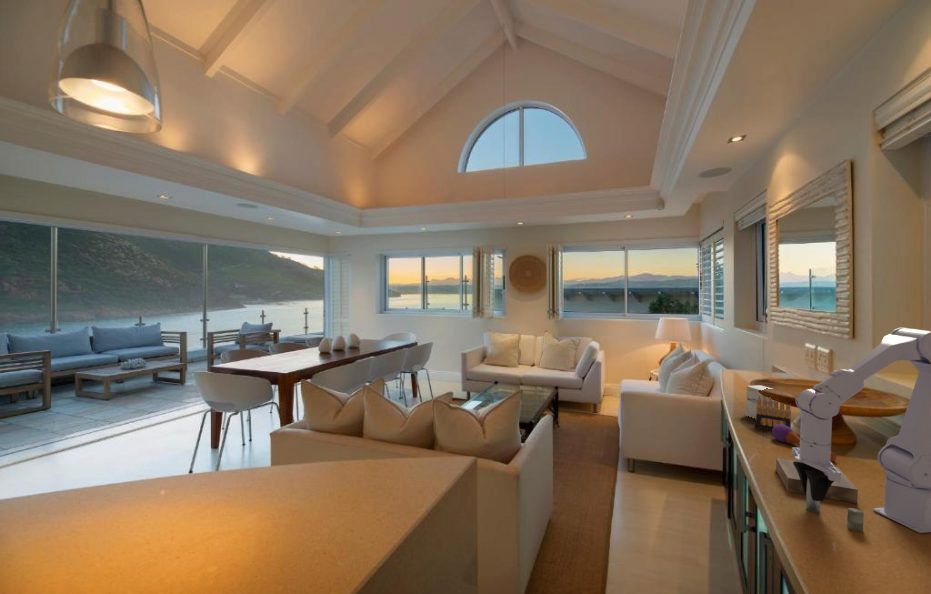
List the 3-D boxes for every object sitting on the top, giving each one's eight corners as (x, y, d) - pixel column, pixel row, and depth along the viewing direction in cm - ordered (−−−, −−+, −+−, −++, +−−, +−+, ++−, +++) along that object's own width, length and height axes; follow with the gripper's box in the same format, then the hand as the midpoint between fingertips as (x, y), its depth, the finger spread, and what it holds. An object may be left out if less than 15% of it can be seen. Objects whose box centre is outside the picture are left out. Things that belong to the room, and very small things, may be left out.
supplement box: (745, 416, 174) (745, 385, 173) (760, 415, 175) (761, 384, 175) (760, 421, 167) (761, 390, 166) (776, 420, 168) (777, 389, 168)
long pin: (822, 512, 100) (824, 479, 100) (813, 513, 100) (814, 480, 100) (812, 506, 103) (813, 474, 103) (803, 507, 103) (804, 475, 102)
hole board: (837, 480, 117) (838, 467, 117) (857, 503, 105) (857, 489, 104) (775, 469, 123) (776, 458, 123) (787, 490, 111) (787, 477, 111)
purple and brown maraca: (822, 450, 129) (767, 423, 148) (823, 468, 129) (768, 439, 149) (839, 445, 129) (782, 419, 149) (840, 463, 130) (783, 435, 150)
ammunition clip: (755, 427, 161) (756, 395, 160) (755, 425, 162) (756, 394, 162) (790, 433, 154) (791, 400, 154) (790, 431, 156) (791, 399, 155)
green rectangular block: (866, 531, 93) (867, 513, 93) (856, 532, 92) (856, 514, 92) (853, 525, 95) (854, 507, 95) (843, 526, 95) (844, 508, 95)
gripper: (779, 429, 109) (777, 481, 109) (816, 451, 94) (814, 511, 95) (810, 431, 108) (808, 483, 108) (852, 453, 93) (850, 514, 94)
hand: (813, 496), depth 101 cm, fingers closed on long pin, 3 cm apart
